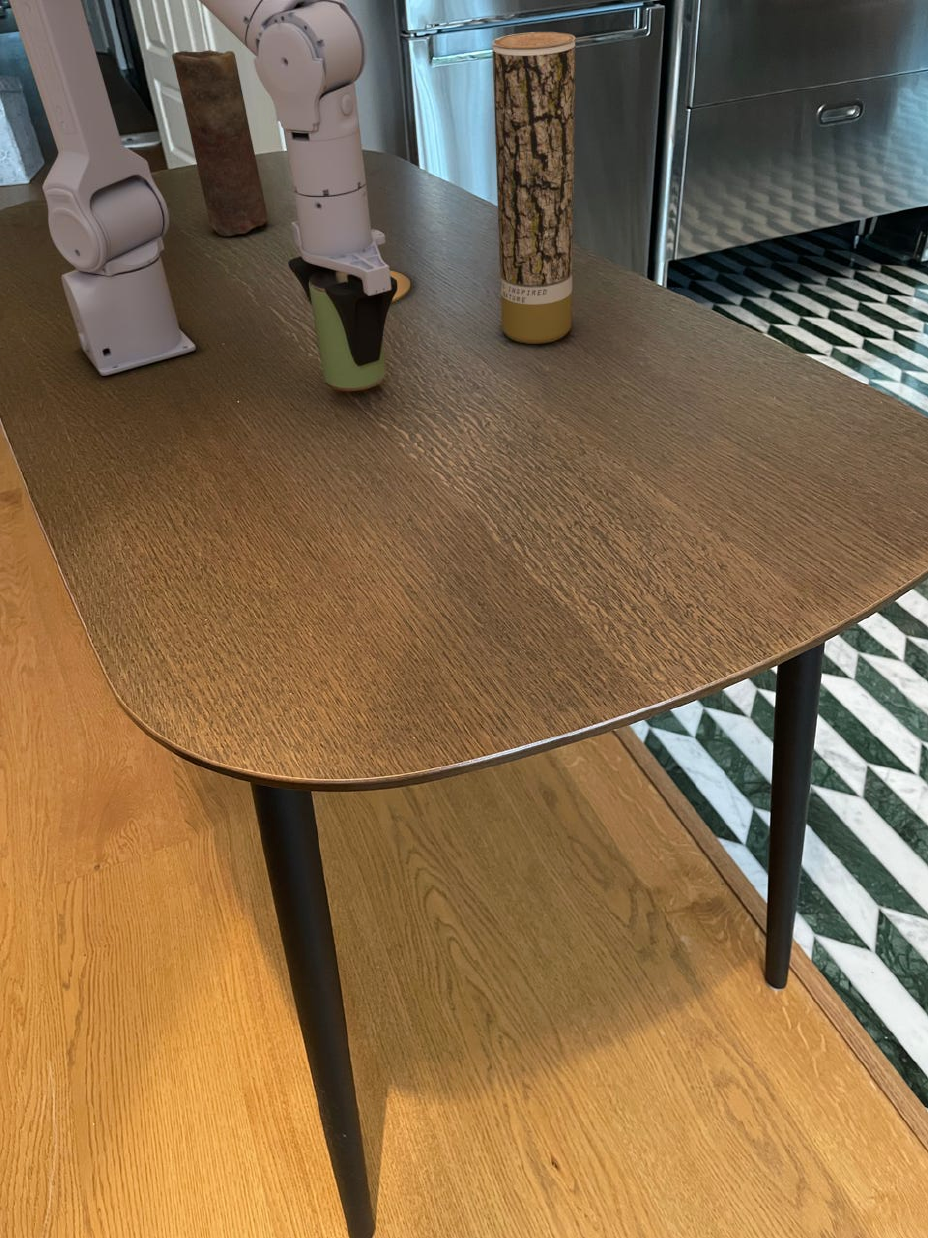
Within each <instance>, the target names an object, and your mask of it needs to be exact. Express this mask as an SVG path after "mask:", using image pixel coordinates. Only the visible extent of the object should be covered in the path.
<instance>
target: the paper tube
mask: <svg viewBox="0 0 928 1238" xmlns="http://www.w3.org/2000/svg"><path fill="white" fill-rule="evenodd" d="M575 40H576V36H575V35H573V34H570V33H567V32H557V31H531V32H520V33H512V34H508V35H503V36H500V37H497V38H495V39H494V40H492V45H493V46H492V52H491V53H492V77H493V78H492V79H493V80H492V82H493V107H494V110H493V111H494V136H495V137H494V138H495V139H494V140H495V166H496V167H495V169H496V170H495V171H496V193H497V194H496V196H497V200H496V201H497V224H498V225H497V227H498V228H497V229H498V256H499V257H498V258H499V283H500V284H499V285H500V288H499V289H500V307H501V309H500V311H501V328H502V331H503V333H504V334H505V336H506V337H507V338H508V339H511V340H512V341H515V342H517V343H521V344H525V345H526V344H529V345H542V344H548V343H552V342H556V341H557V340H558V341H559V340H560V339H562V338H563V337H565V336H566V335H567V334H568V333H569V331H570V330H571V327H572V308H573V307H572V305H573V304H572V301H573V300H572V299H573V295H572V294H573V253H574V252H573V251H574V250H573V248H574V237H573V236H574V184H575V183H574V182H575V181H574V180H575V179H574V178H575V172H574V171H575V123H576V121H575V116H576V114H575V113H576V112H575V111H576V110H575V109H576V54H577V53H576V47H577V45H576V41H575Z"/></svg>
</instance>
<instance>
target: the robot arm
mask: <svg viewBox="0 0 928 1238" xmlns="http://www.w3.org/2000/svg"><path fill="white" fill-rule="evenodd" d="M8 1H9V5H10V7H11V11H12V14H13V16H14V20H15V23H16V25H17V29H18V32H19V36H20V38H21V41H22V45H23V48H24V51H25V53H26V57H27V60H28V62H29V66H30V70H31V72H32V75H33V78H34V82H35V84H36V87H37V90H38V93H39V97H40V99H41V102H42V106H43V108H44V112H45V115H46V118H47V121H48V124H49V127H50V130H51V134H52V136H53V139H54V143H55V145H56V148H57V149H56V150H57V152H58V154H57V156H56V158H55V161H54V162H53V164H52V166H51V168H50V170H49V172H48V174H47V176H46V178H45V179H44V182H43V184H42V191H43V193H44V197H45V200H46V204H47V208H48V210H47V211H48V215H47V216H48V217H47V220H48V228H49V234H50V236H51V239H52V241H53V244H54V246H55V247H56V249H57V251H58V252H59V253H60V254H61V256H62V257H63V258H64V259H65V260H66V261H67V262H68V263H69V264H70V265H72V266H73V267H75V269H74V270H72V271H69V272H66V273H64V274H62V275H61V284H62V288H63V291H64V295H65V297H66V301H67V303H68V306H69V310H70V312H71V315H72V319H73V321H74V324H75V328H76V331H77V336H78V340H79V343H80V345H81V349H82V350H83V352H84V354H86V356H87V357H88V359H89V360H90V362H91V363H92V365H93V366H94V368H95V369H96V371H98V373H99V374H100V375H101V376H103V377H106V376H110V375H114V374H117V373H121V372H124V371H128V370H131V369H132V370H133V369H135V368H138V367H142V366H147V365H149V364H153V363H155V362H160V361H163V360H167V359H171V358H175V357H177V356H181V355H185V354H188V353H191V352H192V353H193V352H195V351H196V349H197V348H196V345H195V344H194V342H193V341H192V340H191V339H190V338H189V337H188V336H187V335H186V333H184V332H183V331H182V330H181V329H180V326H179V323H178V318H177V315H176V312H175V311H176V310H175V307H174V302H173V299H172V295H171V291H170V288H169V283H168V280H167V276H166V272H165V268H164V264H163V260H162V256H161V252H163V251H164V250H165V245H164V241H163V238H164V237H165V236H166V235H167V233H168V231H169V229H170V214H169V209H168V206H167V202H166V200H165V198H164V196H163V194H162V192H161V191H160V190H159V188H158V186H157V185H156V183H155V180H154V179H153V176H152V173H151V170H150V166H149V163H148V161H147V160H146V159H145V158H144V157H142V156H141V155H139V154H138V153H136V152H134V151H133V150H131V149H129V148H128V147H126V146H125V145H124V144H123V143H122V141H121V137H120V133H119V129H118V126H117V123H116V118H115V116H114V112H113V109H112V106H111V105H112V104H111V102H110V101H111V100H110V98H109V94H108V91H107V88H106V84H105V81H104V76H103V73H102V70H101V66H100V64H99V59H98V56H97V53H96V49H95V46H94V42H93V38H92V36H91V32H90V28H89V25H88V21H87V18H86V15H85V11H84V6H83V3H82V1H81V0H8ZM198 1H199V2H200V4H202V5H203V7H205V8H206V9H207V10H208V11H209V12H210V13H211V14H212V15H213V16H214V17H215V18H216V19H217V20H218V21H219V22H220V23H221V24H222V25H223V26H224V27H225V28H226V29H228V31H229V32H230V33H231V34H233V35H234V37H236V38H237V39H238V40H239V42H241V43H242V45H244V46H245V48H247V50H249V52H251V53H252V54H253V56H255V57H254V58H253V64H254V69H255V72H256V74H257V77H258V79H259V81H260V83H261V84H262V86H263V88H264V89H265V91H266V92H267V93H268V96H270V98H271V100H272V102H273V105H274V109H275V116H276V121H277V122H280V126H281V129H282V130H283V136H284V137H283V138H284V143H285V149H286V154H287V161H288V167H289V174H290V179H291V186H292V193H293V199H294V204H295V211H296V217H297V220H296V221H292V222H291V223H290V225H291V230H292V235H293V241H294V245H295V246H296V247H298V248H299V252H300V256H297V257H294V258H291V259H289V260H288V263H287V265H288V267H289V269H290V270H291V272H292V273H293V274H294V276H295V277H296V279H297V280H298V282H299V284H300V285H301V287H302V289H303V290H304V293H305V294H306V296H307V298H308V302H309V303H310V305H311V307H312V302H311V296H310V290H309V279H310V277H311V276H312V275H313V274H314V273H316V272H318V271H320V270H323V269H326V268H329V269H332V270H336V271H340V272H343V273H347V274H348V275H347V280H348V282H342V283H339V284H335V285H331V286H327V287H325V292H326V294H327V295H328V296H329V298H330V299H331V301H332V302H333V304H334V306H335V308H336V310H337V312H338V314H339V316H340V318H341V321H342V324H343V326H344V330H345V333H346V337H347V341H348V345H349V349H350V352H351V355H352V358H353V360H354V362H355V364H357V365H358V366H362V365H365V364H368V363H372V362H375V361H378V360H379V358H380V353H381V346H382V338H383V339H384V337H383V336H384V331H385V330H384V329H385V324H386V320H387V316H388V312H389V309H390V307H391V304H392V303H391V302H392V300H393V297H394V295H395V294H396V292H397V288H398V286H397V280H396V279H394V278H393V277H391V276H390V271H389V270H390V266H389V265H388V264H387V263H386V262H384V260H383V259H382V256H381V253H380V250H379V247H378V246H382V245H384V244H385V243H386V234H385V233H383V232H381V231H380V230H378V229H374V228H373V229H372V225H371V216H370V208H369V198H368V190H367V180H366V179H367V178H366V173H365V161H364V154H363V146H362V145H363V144H362V136H361V128H360V120H359V118H360V117H359V111H358V101H357V93H356V83H355V82H356V81H357V80H358V79H359V78H360V77H361V75H362V73H363V71H364V70H365V66H366V61H367V43H366V42H367V41H366V38H365V34H364V32H363V28H362V26H361V24H360V22H359V21H358V19H357V17H356V16H355V15H354V13H353V12H352V11H351V9H350V8H349V6H348V5H347V3H346V2H345V1H343V0H198Z"/></svg>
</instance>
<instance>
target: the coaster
mask: <svg viewBox="0 0 928 1238" xmlns="http://www.w3.org/2000/svg"><path fill="white" fill-rule="evenodd" d="M389 271H390V276H391V277H393V278H394V279H396V280H397V286H398V288H397V292H396V294H395V295H394V297H393V300H392V302H391V304H392V303H396V302H397V301H399V300H401V299H402V298H404V297H405V296H406V295H407V294H408V293H409V292H410V290H411V281H410V279H409V277H407V276H406V275H404V274H403V273H400V272H398V271H394V270H390V269H389Z"/></svg>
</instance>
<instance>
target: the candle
mask: <svg viewBox="0 0 928 1238" xmlns="http://www.w3.org/2000/svg"><path fill="white" fill-rule="evenodd" d="M171 57H172V62H173V65H174V71H175V74H176V79H177V83H178V88H179V91H180V96H181V101H182V104H183V105H182V106H183V108H184V114H185V117H186V122H187V127H188V130H189V135H190V140H191V144H192V149H193V155H194V158H195V162H196V168H197V172H198V176H199V180H200V185H201V189H202V195H203V199H204V204H205V207H206V211H207V216H208V220H209V224H210V227H211V228H212V230H214V231H215V232H216V233H217V234H218V235H219V236H221V237H233V236H236V235H245V234H247V233H249V232H250V231H251V230H252V229H256V228H259V227H262V226H263V225H264V224H265V223H266V222H267V220H268V212H267V205H266V201H265V197H264V191H263V186H262V181H261V176H260V172H259V168H258V163H257V157H256V153H255V150H254V149H255V147H254V144H253V138H252V134H251V129H250V124H249V118H248V114H247V109H246V104H245V98H244V94H243V93H244V92H243V88H242V84H241V83H242V82H241V79H240V74H239V68H238V63H237V58H236V54H235V52H234V51H233V50H232V51H231V50H227V51H225V52H220V51H217V50H212V49H211V50H210V49H209V50H204V51H203V50H202V51H178V52H177V51H176V52H174V53H173V54H171Z"/></svg>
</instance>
